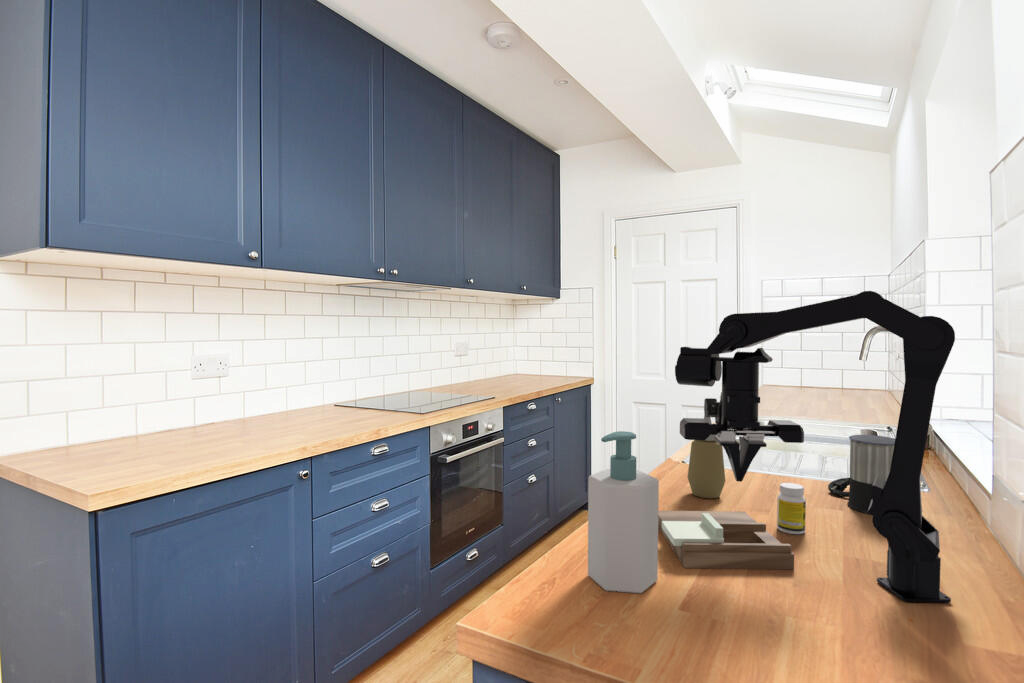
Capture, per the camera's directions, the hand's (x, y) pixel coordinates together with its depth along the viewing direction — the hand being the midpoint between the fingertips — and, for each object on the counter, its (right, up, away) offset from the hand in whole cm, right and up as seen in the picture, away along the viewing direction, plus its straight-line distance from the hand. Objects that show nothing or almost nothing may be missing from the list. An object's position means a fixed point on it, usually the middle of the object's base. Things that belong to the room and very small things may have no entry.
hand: (738, 480), depth 95 cm
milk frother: (+37, -12, +27) cm, 47 cm away
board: (-2, -12, +4) cm, 13 cm away
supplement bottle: (+14, -12, +10) cm, 21 cm away
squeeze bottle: (+5, -11, +31) cm, 34 cm away
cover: (-8, -9, -1) cm, 12 cm away
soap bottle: (-22, -12, -10) cm, 27 cm away
